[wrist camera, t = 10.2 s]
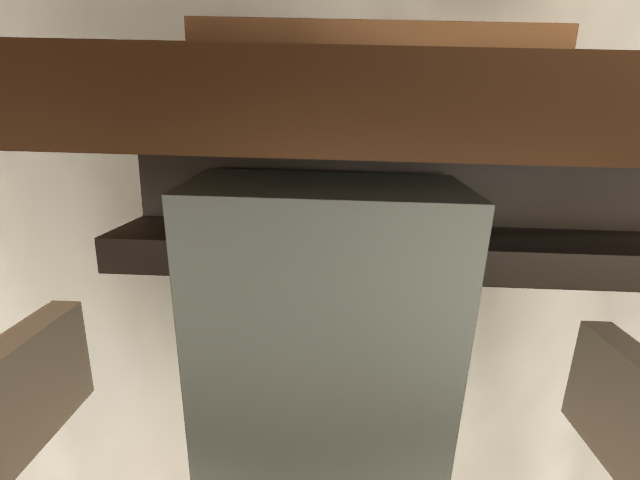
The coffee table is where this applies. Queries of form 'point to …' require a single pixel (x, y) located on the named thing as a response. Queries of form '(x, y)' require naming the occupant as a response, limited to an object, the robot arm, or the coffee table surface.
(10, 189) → the coffee table surface
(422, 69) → the brown wooden rack
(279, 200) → the grey-green box
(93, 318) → the coffee table surface
